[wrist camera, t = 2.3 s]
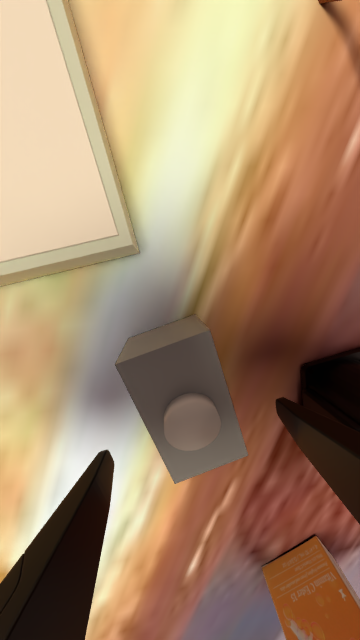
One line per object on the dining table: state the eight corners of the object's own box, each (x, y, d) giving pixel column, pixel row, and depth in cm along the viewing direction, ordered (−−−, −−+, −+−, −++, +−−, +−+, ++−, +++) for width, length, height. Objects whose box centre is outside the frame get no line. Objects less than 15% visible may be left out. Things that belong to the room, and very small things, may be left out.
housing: (194, 313, 12) (215, 334, 8) (225, 408, 15) (255, 469, 10) (129, 337, 12) (110, 373, 7) (170, 429, 14) (176, 499, 10)
